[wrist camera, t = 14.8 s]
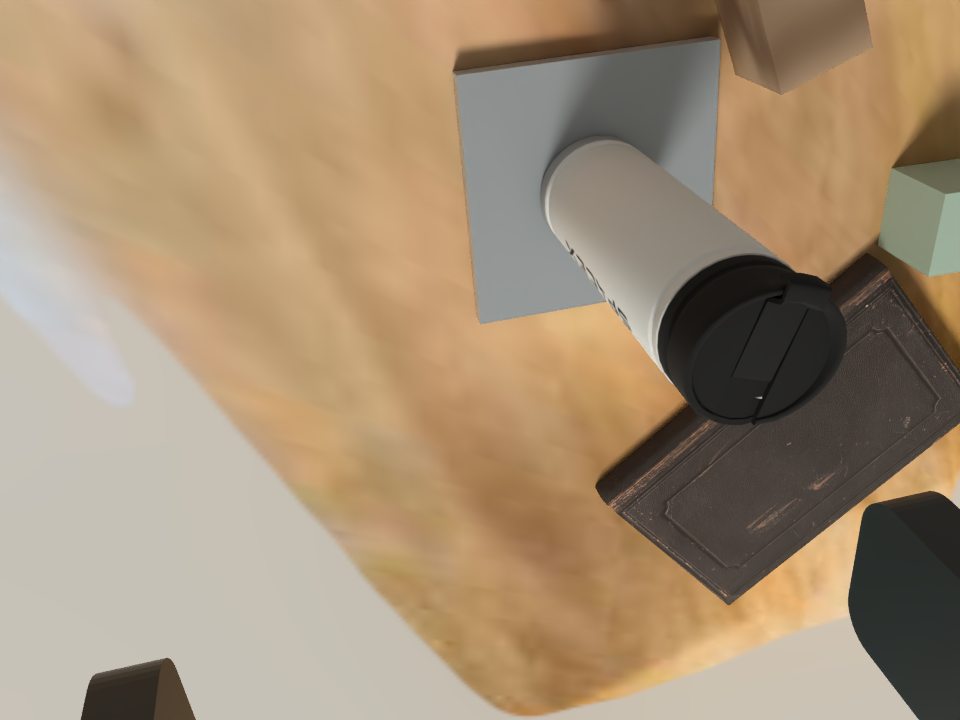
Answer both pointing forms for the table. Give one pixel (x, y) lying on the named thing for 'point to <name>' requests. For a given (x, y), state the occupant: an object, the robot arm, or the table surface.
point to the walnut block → (792, 38)
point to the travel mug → (693, 285)
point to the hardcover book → (794, 448)
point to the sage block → (924, 216)
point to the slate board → (552, 128)
